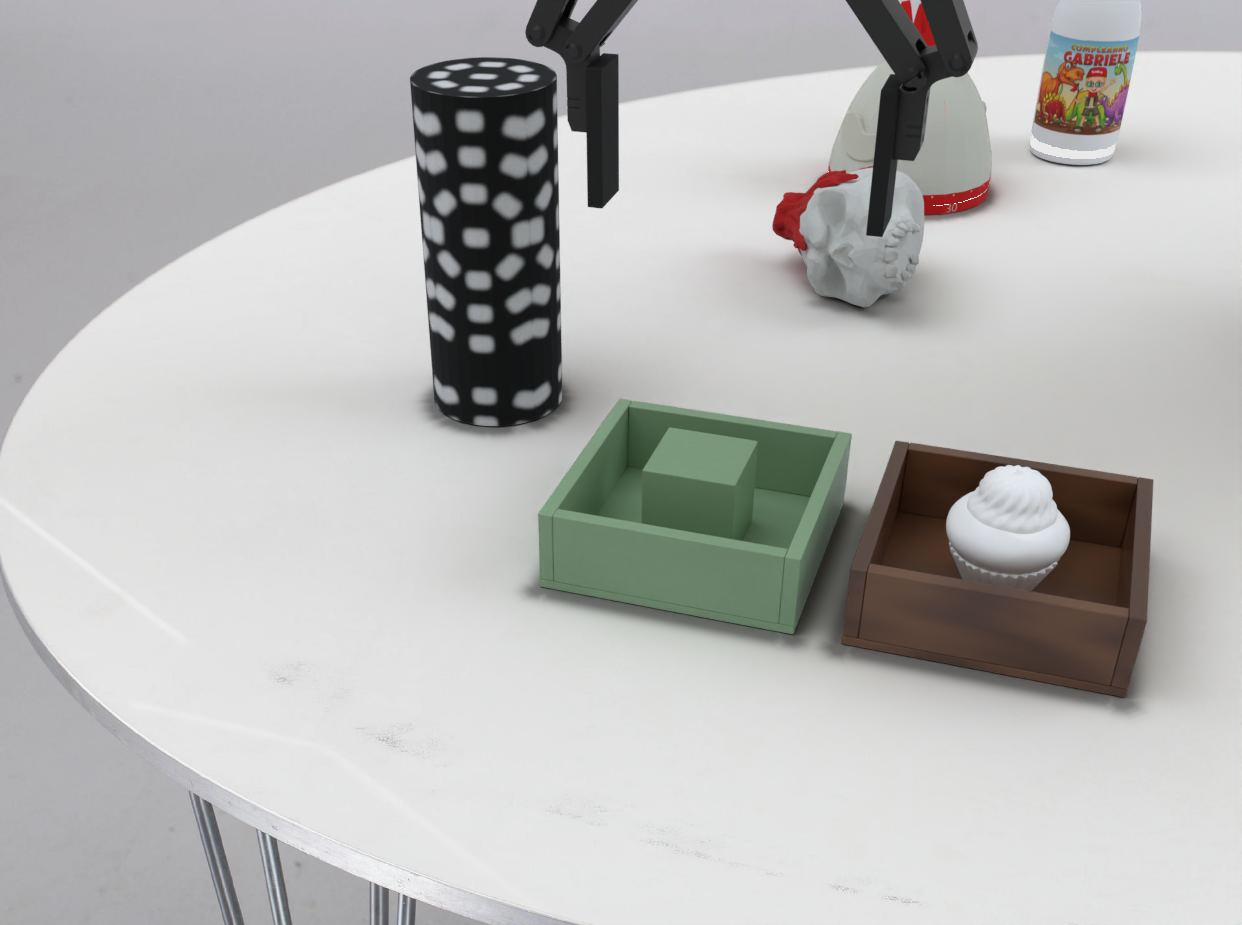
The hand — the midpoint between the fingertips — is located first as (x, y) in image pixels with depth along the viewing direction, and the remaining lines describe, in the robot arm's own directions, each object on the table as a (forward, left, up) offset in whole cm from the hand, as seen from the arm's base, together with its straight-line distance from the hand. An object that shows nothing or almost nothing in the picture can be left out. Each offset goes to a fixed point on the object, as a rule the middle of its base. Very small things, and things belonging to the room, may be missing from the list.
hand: (737, 213), depth 69 cm
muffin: (-15, +2, -18) cm, 23 cm away
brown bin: (-15, +2, -18) cm, 24 cm away
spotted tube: (+18, -11, -18) cm, 28 cm away
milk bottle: (-14, -74, -18) cm, 78 cm away
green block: (+1, +2, -18) cm, 18 cm away
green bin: (+1, +2, -18) cm, 18 cm away
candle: (0, -37, -18) cm, 42 cm away
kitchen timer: (-1, -60, -18) cm, 63 cm away
